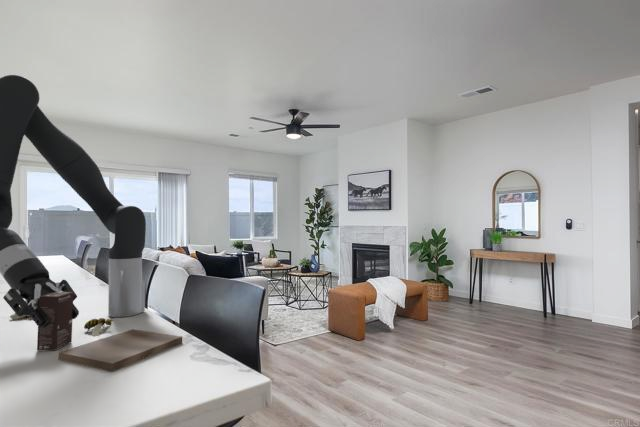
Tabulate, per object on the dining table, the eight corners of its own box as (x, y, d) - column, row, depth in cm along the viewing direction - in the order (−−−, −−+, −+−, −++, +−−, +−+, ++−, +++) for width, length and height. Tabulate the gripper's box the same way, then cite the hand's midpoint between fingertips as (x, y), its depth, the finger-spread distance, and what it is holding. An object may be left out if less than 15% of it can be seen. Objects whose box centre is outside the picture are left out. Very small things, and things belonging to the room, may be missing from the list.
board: (132, 335, 94) (132, 329, 94) (182, 343, 88) (182, 336, 88) (58, 359, 78) (58, 352, 78) (112, 371, 71) (112, 363, 71)
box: (57, 350, 83) (57, 296, 83) (36, 351, 83) (36, 296, 83) (74, 342, 89) (74, 291, 89) (54, 342, 89) (55, 291, 89)
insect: (89, 319, 103) (97, 302, 103) (111, 326, 105) (119, 310, 105) (75, 338, 92) (84, 320, 92) (100, 345, 94) (109, 327, 94)
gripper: (-3, 259, 81) (40, 317, 78) (58, 254, 95) (97, 303, 92) (-22, 283, 82) (20, 341, 79) (41, 274, 96) (78, 323, 93)
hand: (61, 320), depth 86 cm, fingers open, 7 cm apart
